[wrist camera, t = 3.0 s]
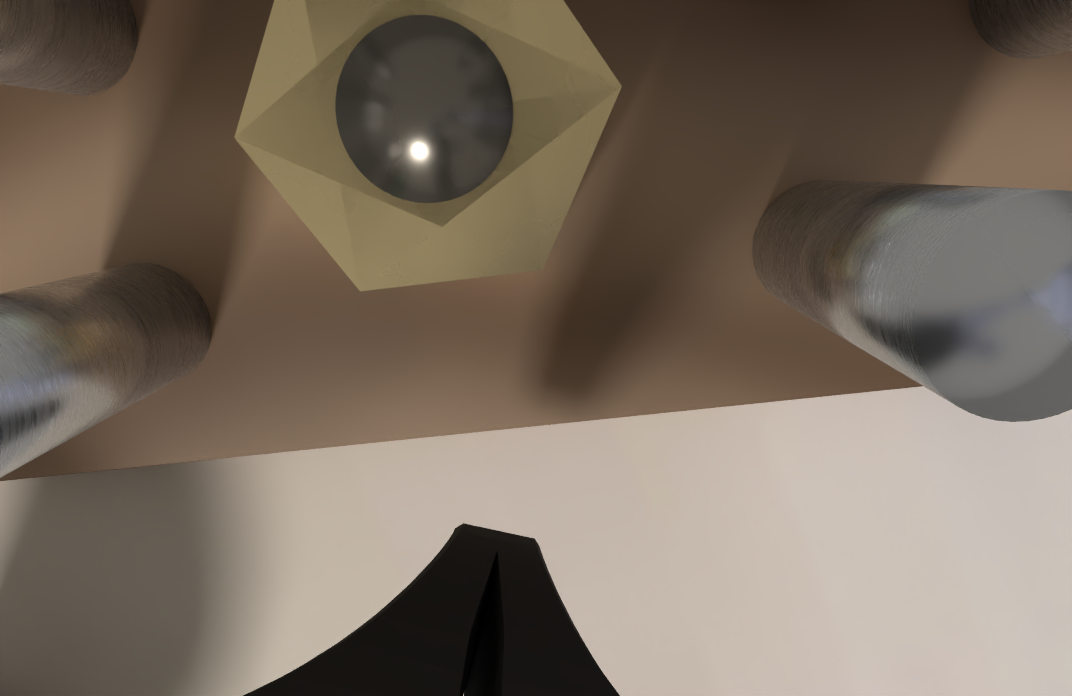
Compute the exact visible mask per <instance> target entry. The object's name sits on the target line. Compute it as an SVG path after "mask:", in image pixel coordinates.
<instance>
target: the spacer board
mask: <svg viewBox="0 0 1072 696" xmlns="http://www.w3.org/2000/svg"><path fill="white" fill-rule="evenodd" d="M130 2H131V4H132V7H133V10H134V13H135V17H136V23H137V34H138V35H137V47H136V52H135V55H134V58H133V61H132V63H131V65H130V68H129V69H128V71H127V72H126V74H125V75H124V76H123V77H122V79H121V80H120V81H119V82H117V83H116V84H115V85H114V86H112V87H111V88H109V89H107V90H105V91H103V92H100V93H97V94H93V95H83V96H80V95H70V94H64V93H57V92H50V91H44V90H37V89H31V88H24V87H17V86H11V85H4V84H0V293H4V292H8V291H13V290H17V289H22V288H26V287H31V286H35V285H39V284H44V283H48V282H53V281H57V280H62V279H66V278H71V277H75V276H80V275H84V274H88V273H93V272H97V271H102V270H106V269H111V268H115V267H120V266H124V265H129V264H134V263H152V264H157V265H161V266H164V267H167V268H169V269H171V270H173V271H175V272H177V273H178V274H180V275H181V276H183V277H184V278H185V279H186V280H188V281H189V282H190V283H191V284H192V285H193V286H194V287H195V289H196V290H197V291H198V292H199V294H200V295H201V297H202V298H203V300H204V302H205V304H206V306H207V309H208V312H209V315H210V319H211V327H212V334H211V342H210V346H209V349H208V351H207V354H206V355H205V357H204V359H203V360H202V361H201V363H200V364H199V365H198V366H197V367H196V368H195V369H194V370H192V371H191V372H189V373H188V374H186V375H184V376H183V377H181V378H179V379H177V380H175V381H174V382H172V383H170V384H168V385H166V386H165V387H163V388H161V389H159V390H157V391H156V392H154V393H152V394H150V395H148V396H147V397H145V398H143V399H141V400H139V401H138V402H136V403H134V404H132V405H130V406H129V407H127V408H125V409H123V410H121V411H120V412H118V413H116V414H114V415H112V416H111V417H109V418H107V419H105V420H103V421H102V422H100V423H98V424H96V425H94V426H93V427H91V428H89V429H87V430H85V431H84V432H82V433H80V434H78V435H76V436H75V437H73V438H71V439H69V440H67V441H66V442H64V443H62V444H60V445H58V446H57V447H55V448H53V449H51V450H49V451H48V452H46V453H44V454H42V455H40V456H39V457H37V458H35V459H33V460H31V461H30V462H28V463H26V464H24V465H22V466H21V467H19V468H17V469H15V470H13V471H12V472H10V473H8V474H6V475H4V476H3V477H1V478H0V481H5V480H15V479H25V478H35V477H44V476H54V475H64V474H73V473H83V472H93V471H103V470H112V469H122V468H132V467H141V466H151V465H161V464H171V463H180V462H190V461H200V460H209V459H219V458H229V457H239V456H248V455H258V454H268V453H278V452H287V451H297V450H307V449H316V448H326V447H336V446H346V445H355V444H365V443H375V442H384V441H394V440H404V439H414V438H423V437H433V436H443V435H452V434H462V433H472V432H482V431H491V430H501V429H511V428H521V427H530V426H540V425H550V424H559V423H569V422H579V421H589V420H598V419H608V418H618V417H627V416H637V415H647V414H657V413H666V412H676V411H686V410H695V409H705V408H715V407H725V406H734V405H744V404H754V403H764V402H773V401H783V400H793V399H802V398H812V397H822V396H832V395H841V394H851V393H861V392H870V391H880V390H890V389H900V388H909V387H919V386H923V385H921V384H919V383H918V382H916V381H914V380H913V379H911V378H909V377H908V376H906V375H904V374H902V373H901V372H899V371H897V370H896V369H894V368H892V367H891V366H889V365H887V364H886V363H884V362H882V361H881V360H879V359H877V358H876V357H874V356H872V355H871V354H869V353H867V352H866V351H864V350H862V349H861V348H859V347H857V346H855V345H854V344H852V343H850V342H849V341H847V340H845V339H844V338H842V337H840V336H839V335H837V334H835V333H834V332H832V331H830V330H829V329H827V328H825V327H824V326H822V325H820V324H819V323H817V322H815V321H814V320H812V319H810V318H808V317H807V316H805V315H803V314H802V313H800V312H798V311H797V310H795V309H793V308H792V307H790V306H788V305H787V304H785V303H783V302H782V301H780V300H778V299H777V298H776V297H774V296H773V295H772V294H771V293H770V292H769V291H767V289H766V288H765V287H764V286H763V284H762V283H761V281H760V279H759V278H758V276H757V273H756V271H755V268H754V264H753V257H752V244H753V237H754V233H755V230H756V227H757V225H758V222H759V220H760V218H761V217H762V215H763V213H764V212H765V210H766V209H767V208H768V207H769V205H770V204H771V203H772V202H773V201H774V200H775V199H776V198H777V197H779V196H780V195H781V194H782V193H784V192H785V191H787V190H789V189H790V188H792V187H794V186H797V185H799V184H802V183H805V182H809V181H814V180H843V181H866V182H889V183H912V184H935V185H958V186H981V187H1004V188H1027V189H1050V190H1067V191H1072V51H1070V52H1066V53H1061V54H1057V55H1052V56H1048V57H1043V58H1038V59H1018V58H1014V57H1010V56H1007V55H1004V54H1002V53H1000V52H998V51H997V50H995V49H994V48H992V47H991V46H990V45H989V44H987V43H986V41H985V40H984V39H983V38H982V37H981V35H980V34H979V32H978V31H977V29H976V27H975V25H974V23H973V20H972V17H971V13H970V8H969V0H564V2H565V3H566V5H567V6H568V8H569V9H570V11H571V12H572V14H573V15H574V17H575V18H576V20H577V21H578V22H579V24H580V25H581V27H582V28H583V30H584V31H585V33H586V34H587V36H588V37H589V39H590V40H591V42H592V43H593V45H594V46H595V47H596V49H597V50H598V52H599V53H600V55H601V56H602V58H603V59H604V61H605V62H606V64H607V65H608V67H609V68H610V70H611V71H612V73H613V74H614V75H615V77H616V78H617V80H618V81H619V83H620V84H621V86H622V87H621V90H620V92H619V94H618V96H617V99H616V101H615V103H614V106H613V108H612V110H611V113H610V115H609V117H608V120H607V122H606V124H605V127H604V129H603V131H602V134H601V136H600V138H599V141H598V143H597V145H596V148H595V150H594V152H593V155H592V157H591V159H590V162H589V164H588V166H587V168H586V171H585V173H584V175H583V178H582V180H581V182H580V185H579V187H578V189H577V192H576V194H575V196H574V199H573V201H572V203H571V206H570V208H569V210H568V213H567V215H566V217H565V220H564V222H563V224H562V227H561V229H560V231H559V234H558V236H557V238H556V240H555V243H554V245H553V247H552V250H551V252H550V254H549V257H548V259H547V261H546V264H545V266H544V268H543V270H539V271H530V272H522V273H513V274H505V275H496V276H487V277H479V278H470V279H462V280H453V281H445V282H436V283H428V284H419V285H410V286H402V287H393V288H385V289H376V290H368V291H359V289H358V288H357V287H356V286H355V285H354V283H353V282H352V281H351V280H350V279H349V277H348V276H347V275H346V274H345V272H344V271H343V270H342V269H341V268H340V266H339V265H338V264H337V263H336V261H335V260H334V259H333V258H332V257H331V255H330V254H329V253H328V252H327V250H326V249H325V248H324V247H323V246H322V244H321V243H320V242H319V241H318V239H317V238H316V237H315V236H314V235H313V233H312V232H311V231H310V230H309V228H308V227H307V226H306V225H305V224H304V222H303V221H302V220H301V219H300V217H299V216H298V215H297V214H296V213H295V211H294V210H293V209H292V208H291V206H290V205H289V204H288V203H287V202H286V200H285V199H284V198H283V197H282V195H281V194H280V193H279V192H278V191H277V189H276V188H275V187H274V186H273V184H272V183H271V182H270V181H269V180H268V178H267V177H266V176H265V175H264V173H263V172H262V171H261V170H260V169H259V167H258V166H257V165H256V164H255V163H254V161H253V160H252V159H251V158H250V156H249V155H248V154H247V153H246V152H245V150H244V149H243V148H242V147H241V145H240V144H239V143H238V142H237V141H236V139H235V138H234V137H235V133H236V130H237V126H238V123H239V119H240V116H241V113H242V109H243V106H244V102H245V99H246V95H247V92H248V89H249V85H250V82H251V78H252V75H253V71H254V68H255V65H256V61H257V58H258V54H259V51H260V47H261V44H262V41H263V37H264V34H265V30H266V27H267V24H268V20H269V17H270V13H271V10H272V6H273V3H274V0H130Z"/></svg>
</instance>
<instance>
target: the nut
mask: <svg viewBox="0 0 1072 696" xmlns="http://www.w3.org/2000/svg"><path fill="white" fill-rule="evenodd" d="M621 87H622V86H621V84H620V83H619V81H618V80H617V78H616V77H615V75H614V74H613V73H612V71H611V70H610V68H609V67H608V65H607V64H606V62H605V61H604V59H603V58H602V56H601V55H600V53H599V52H598V50H597V49H596V47H595V46H594V45H593V43H592V42H591V40H590V39H589V37H588V36H587V34H586V33H585V31H584V30H583V28H582V27H581V25H580V24H579V22H578V21H577V20H576V18H575V17H574V15H573V14H572V12H571V11H570V9H569V8H568V6H567V5H566V3H565V2H564V0H274V3H273V6H272V10H271V13H270V17H269V20H268V24H267V27H266V30H265V34H264V37H263V41H262V44H261V47H260V51H259V54H258V58H257V61H256V65H255V68H254V71H253V75H252V78H251V82H250V85H249V89H248V92H247V95H246V99H245V102H244V106H243V109H242V113H241V116H240V119H239V123H238V126H237V130H236V133H235V137H234V138H235V139H236V141H237V142H238V143H239V144H240V145H241V147H242V148H243V149H244V150H245V152H246V153H247V154H248V155H249V156H250V158H251V159H252V160H253V161H254V163H255V164H256V165H257V166H258V167H259V169H260V170H261V171H262V172H263V173H264V175H265V176H266V177H267V178H268V180H269V181H270V182H271V183H272V184H273V186H274V187H275V188H276V189H277V191H278V192H279V193H280V194H281V195H282V197H283V198H284V199H285V200H286V202H287V203H288V204H289V205H290V206H291V208H292V209H293V210H294V211H295V213H296V214H297V215H298V216H299V217H300V219H301V220H302V221H303V222H304V224H305V225H306V226H307V227H308V228H309V230H310V231H311V232H312V233H313V235H314V236H315V237H316V238H317V239H318V241H319V242H320V243H321V244H322V246H323V247H324V248H325V249H326V250H327V252H328V253H329V254H330V255H331V257H332V258H333V259H334V260H335V261H336V263H337V264H338V265H339V266H340V268H341V269H342V270H343V271H344V272H345V274H346V275H347V276H348V277H349V279H350V280H351V281H352V282H353V283H354V285H355V286H356V287H357V288H358V289H359V291H368V290H376V289H385V288H393V287H402V286H410V285H419V284H428V283H436V282H445V281H453V280H462V279H470V278H479V277H487V276H496V275H505V274H513V273H522V272H530V271H539V270H543V268H544V266H545V264H546V261H547V259H548V257H549V254H550V252H551V250H552V247H553V245H554V243H555V240H556V238H557V236H558V234H559V231H560V229H561V227H562V224H563V222H564V220H565V217H566V215H567V213H568V210H569V208H570V206H571V203H572V201H573V199H574V196H575V194H576V192H577V189H578V187H579V185H580V182H581V180H582V178H583V175H584V173H585V171H586V168H587V166H588V164H589V162H590V159H591V157H592V155H593V152H594V150H595V148H596V145H597V143H598V141H599V138H600V136H601V134H602V131H603V129H604V127H605V124H606V122H607V120H608V117H609V115H610V113H611V110H612V108H613V106H614V103H615V101H616V99H617V96H618V94H619V92H620V90H621Z"/></svg>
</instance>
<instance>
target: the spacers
mask: <svg viewBox="0 0 1072 696" xmlns="http://www.w3.org/2000/svg"><path fill="white" fill-rule="evenodd" d="M969 8H970V13H971V17H972V20H973V23H974V25H975V27H976V29H977V31H978V32H979V34H980V35H981V37H982V38H983V39H984V40H985V41H986V43H987V44H989V45H990V46H991V47H992V48H994V49H995V50H997V51H998V52H1000V53H1002V54H1004V55H1007V56H1010V57H1014V58H1018V59H1038V58H1043V57H1048V56H1052V55H1057V54H1061V53H1066V52H1070V51H1072V0H969ZM137 35H138V34H137V23H136V17H135V13H134V10H133V7H132V4H131V2H130V0H0V84H4V85H11V86H17V87H24V88H31V89H37V90H44V91H50V92H57V93H64V94H70V95H80V96H83V95H93V94H97V93H100V92H103V91H105V90H107V89H109V88H111V87H112V86H114V85H115V84H116V83H117V82H119V81H120V80H121V79H122V77H123V76H124V75H125V74H126V72H127V71H128V69H129V68H130V65H131V63H132V61H133V58H134V55H135V52H136V47H137ZM752 257H753V264H754V268H755V271H756V273H757V276H758V278H759V279H760V281H761V283H762V284H763V286H764V287H765V288H766V289H767V291H769V292H770V293H771V294H772V295H773V296H774V297H776V298H777V299H778V300H780V301H782V302H783V303H785V304H787V305H788V306H790V307H792V308H793V309H795V310H797V311H798V312H800V313H802V314H803V315H805V316H807V317H808V318H810V319H812V320H814V321H815V322H817V323H819V324H820V325H822V326H824V327H825V328H827V329H829V330H830V331H832V332H834V333H835V334H837V335H839V336H840V337H842V338H844V339H845V340H847V341H849V342H850V343H852V344H854V345H855V346H857V347H859V348H861V349H862V350H864V351H866V352H867V353H869V354H871V355H872V356H874V357H876V358H877V359H879V360H881V361H882V362H884V363H886V364H887V365H889V366H891V367H892V368H894V369H896V370H897V371H899V372H901V373H902V374H904V375H906V376H908V377H909V378H911V379H913V380H914V381H916V382H918V383H919V384H921V385H923V386H924V387H926V388H928V389H929V390H931V391H933V392H934V393H936V394H938V395H939V396H941V397H943V398H944V399H946V400H948V401H949V402H951V403H953V404H955V405H956V406H958V407H960V408H962V409H964V410H966V411H968V412H969V413H972V414H975V415H978V416H981V417H983V418H988V419H993V420H998V421H1010V422H1016V421H1031V420H1037V419H1043V418H1047V417H1051V416H1054V415H1058V414H1061V413H1063V412H1066V411H1068V410H1071V409H1072V191H1067V190H1050V189H1027V188H1004V187H981V186H958V185H935V184H912V183H889V182H866V181H843V180H814V181H809V182H805V183H802V184H799V185H797V186H794V187H792V188H790V189H789V190H787V191H785V192H784V193H782V194H781V195H780V196H779V197H777V198H776V199H775V200H774V201H773V202H772V203H771V204H770V205H769V207H768V208H767V209H766V210H765V212H764V213H763V215H762V217H761V218H760V220H759V222H758V225H757V227H756V230H755V233H754V237H753V244H752ZM211 334H212V327H211V319H210V315H209V312H208V309H207V306H206V304H205V302H204V300H203V298H202V297H201V295H200V294H199V292H198V291H197V290H196V289H195V287H194V286H193V285H192V284H191V283H190V282H189V281H188V280H186V279H185V278H184V277H183V276H181V275H180V274H178V273H177V272H175V271H173V270H171V269H169V268H167V267H164V266H161V265H157V264H152V263H134V264H129V265H124V266H120V267H115V268H111V269H106V270H102V271H97V272H93V273H88V274H84V275H80V276H75V277H71V278H66V279H62V280H57V281H53V282H48V283H44V284H39V285H35V286H31V287H26V288H22V289H17V290H13V291H8V292H4V293H0V478H1V477H3V476H4V475H6V474H8V473H10V472H12V471H13V470H15V469H17V468H19V467H21V466H22V465H24V464H26V463H28V462H30V461H31V460H33V459H35V458H37V457H39V456H40V455H42V454H44V453H46V452H48V451H49V450H51V449H53V448H55V447H57V446H58V445H60V444H62V443H64V442H66V441H67V440H69V439H71V438H73V437H75V436H76V435H78V434H80V433H82V432H84V431H85V430H87V429H89V428H91V427H93V426H94V425H96V424H98V423H100V422H102V421H103V420H105V419H107V418H109V417H111V416H112V415H114V414H116V413H118V412H120V411H121V410H123V409H125V408H127V407H129V406H130V405H132V404H134V403H136V402H138V401H139V400H141V399H143V398H145V397H147V396H148V395H150V394H152V393H154V392H156V391H157V390H159V389H161V388H163V387H165V386H166V385H168V384H170V383H172V382H174V381H175V380H177V379H179V378H181V377H183V376H184V375H186V374H188V373H189V372H191V371H192V370H194V369H195V368H196V367H197V366H198V365H199V364H200V363H201V361H202V360H203V359H204V357H205V355H206V354H207V351H208V349H209V346H210V342H211Z"/></svg>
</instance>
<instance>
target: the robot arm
mask: <svg viewBox="0 0 1072 696" xmlns="http://www.w3.org/2000/svg"><path fill="white" fill-rule="evenodd" d="M463 694H464V696H620V695H619V694H618V693H617V691H616V690H615V689H614V687H613V686H612V685H611V683H610V682H609V681H608V679H607V678H606V676H605V675H604V674H603V672H602V671H601V669H600V668H599V666H598V665H597V663H596V661H595V660H594V658H593V657H592V655H591V653H590V652H589V650H588V648H587V647H586V645H585V643H584V642H583V640H582V638H581V636H580V635H579V633H578V631H577V629H576V627H575V626H574V624H573V622H572V620H571V618H570V616H569V614H568V612H567V610H566V608H565V606H564V604H563V602H562V600H561V598H560V596H559V594H558V592H557V590H556V587H555V585H554V583H553V581H552V578H551V576H550V574H549V571H548V569H547V566H546V564H545V561H544V558H543V556H542V553H541V550H540V547H539V545H538V543H537V542H536V540H535V539H534V538H529V537H524V536H519V535H515V534H510V533H505V532H501V531H496V530H491V529H487V528H482V527H477V526H473V525H468V524H462V525H460V526H458V527H457V528H455V530H454V532H453V534H452V536H451V537H450V539H449V540H448V541H447V543H446V544H445V546H444V547H443V548H442V549H441V551H440V552H439V553H438V554H437V555H436V557H435V558H434V559H433V560H432V561H431V562H430V563H429V564H428V566H427V567H426V568H425V569H424V570H423V571H422V572H421V573H420V574H419V575H418V576H417V577H416V578H415V579H414V580H413V581H412V582H411V583H410V584H409V585H408V586H407V587H406V588H405V589H404V590H403V591H402V592H401V593H400V594H399V595H397V596H396V597H395V598H394V599H393V600H392V601H391V602H390V603H389V604H387V605H386V606H385V607H384V608H383V609H382V610H381V611H379V612H378V613H377V614H376V615H375V616H373V617H372V618H371V619H370V620H368V621H367V622H366V623H365V624H363V625H362V626H361V627H359V628H358V629H357V630H355V631H354V632H352V633H351V634H350V635H348V636H347V637H345V638H344V639H343V640H341V641H340V642H338V643H337V644H335V645H334V646H332V647H331V648H329V649H328V650H326V651H324V652H323V653H321V654H320V655H318V656H316V657H315V658H313V659H312V660H310V661H309V662H307V663H305V664H304V665H302V666H300V667H298V668H297V669H295V670H293V671H292V672H290V673H288V674H286V675H284V676H282V677H281V678H279V679H277V680H275V681H272V682H270V683H268V684H266V685H264V686H262V687H260V688H258V689H256V690H254V691H252V692H250V693H248V694H246V695H243V696H463Z"/></svg>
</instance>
